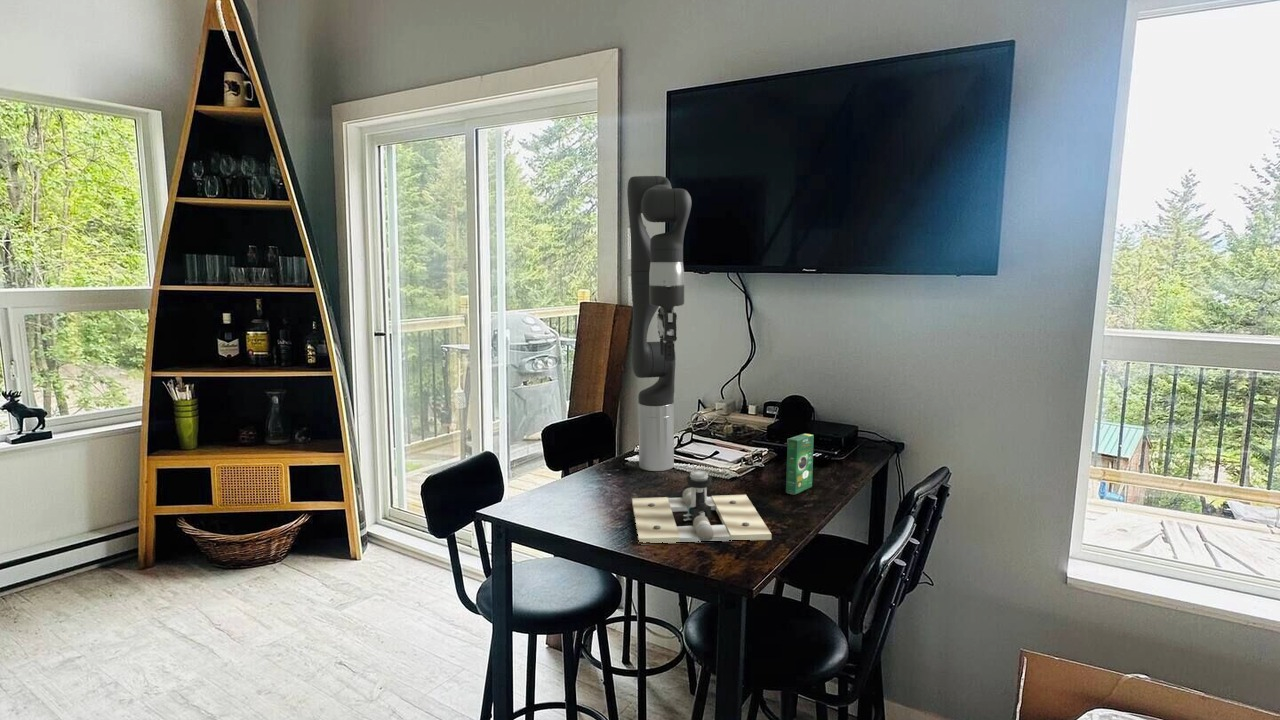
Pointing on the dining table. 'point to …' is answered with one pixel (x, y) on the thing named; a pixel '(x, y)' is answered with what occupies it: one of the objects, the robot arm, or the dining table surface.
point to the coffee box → (799, 463)
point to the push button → (698, 494)
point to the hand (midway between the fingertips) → (667, 357)
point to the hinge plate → (698, 520)
